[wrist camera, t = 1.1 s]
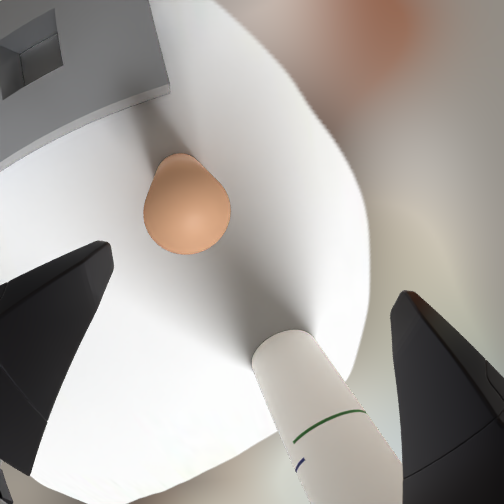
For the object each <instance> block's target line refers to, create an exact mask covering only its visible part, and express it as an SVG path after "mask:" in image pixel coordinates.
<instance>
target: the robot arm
mask: <svg viewBox="0 0 504 504" xmlns="http://www.w3.org/2000/svg"><path fill="white" fill-rule="evenodd" d="M113 269H114V263H113V257H112V250H111V245H110V244H109V243H108V242H104V241H95V242H93V243H90V244H88V245H86V246H83V247H81V248H79V249H76V250H74V251H72V252H70V253H67V254H65V255H63V256H61V257H59V258H56V259H54V260H52V261H50V262H48V263H45V264H43V265H41V266H39V267H37V268H35V269H33V270H31V271H29V272H27V273H24V274H22V275H20V276H18V277H16V278H14V279H12V280H10V281H9V282H8V283H7V282H6V283H4V284H2V285H0V466H1V463H2V461H4V462H6V463H7V464H9V465H11V466H12V467H14V468H16V469H17V470H19V471H21V472H22V473H24V474H26V475H27V476H30V474H31V471H32V467H33V464H34V461H35V457H36V454H37V451H38V448H39V445H40V442H41V439H42V436H43V433H44V430H45V427H46V425H47V421H48V419H49V416H50V413H51V411H52V408H53V406H54V403H55V400H56V398H57V395H58V393H59V391H60V388H61V386H62V383H63V381H64V379H65V376H66V374H67V372H68V369H69V367H70V365H71V363H72V360H73V358H74V356H75V354H76V352H77V350H78V347H79V345H80V343H81V341H82V339H83V337H84V335H85V333H86V331H87V329H88V327H89V325H90V323H91V321H92V319H93V317H94V315H95V313H96V311H97V309H98V306H99V304H100V301H101V299H102V296H103V294H104V291H105V289H106V287H107V284H108V282H109V279H110V277H111V275H112V272H113ZM390 319H391V331H392V351H393V362H394V369H395V377H396V385H397V394H398V403H399V413H400V425H401V440H402V465H403V479H404V480H403V494H402V504H504V378H503V377H502V376H501V375H500V374H499V373H498V372H497V370H495V368H494V367H493V366H492V365H491V364H490V363H489V362H488V361H487V360H486V361H485V358H484V357H483V356H482V355H481V354H480V353H479V352H478V351H477V350H476V349H475V348H474V347H473V346H472V345H471V344H470V343H469V342H468V341H467V340H466V339H465V338H464V337H463V336H462V335H461V334H460V333H459V332H458V331H457V330H456V329H455V328H453V327H452V326H451V325H450V324H449V323H448V322H447V321H446V320H445V319H444V318H443V317H442V316H441V315H440V314H439V313H438V312H436V311H435V310H434V309H433V308H432V307H431V306H430V305H429V304H428V303H427V302H425V301H424V300H423V299H422V298H421V297H420V296H419V295H418V294H416V293H415V292H413V291H407V290H404V291H402V292H401V293H400V295H399V297H398V298H397V300H396V302H395V304H394V306H393V308H392V310H391V314H390ZM0 504H13V500H12V498H11V495H10V492H9V489H8V487H7V484H6V481H5V478H4V475H3V471H2V470H1V469H0Z"/></svg>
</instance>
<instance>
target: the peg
mask: <svg viewBox="0 0 504 504" xmlns="http://www.w3.org/2000/svg"><path fill="white" fill-rule="evenodd" d="M230 212H231V209H230V202H229V198H228V195H227V193H226V191H225V189H224V188H223V186H222V185H221V184H220V183H219V182H218V181H217V180H216V179H215V178H214V177H213V176H212V175H211V174H210V173H209V172H208V171H207V170H206V169H205V168H204V167H203V166H202V165H201V164H200V163H199V162H198V161H197V160H196V159H195V158H194V157H192V156H190V155H188V154H183V153H177V154H172V155H170V156H168V157H166V158H165V159H164V160H163V161H162V162H161V163H160V165H159V166H158V168H157V171H156V173H155V176H154V178H153V181H152V184H151V186H150V189H149V192H148V195H147V197H146V200H145V204H144V211H143V214H144V223H145V226H146V229H147V231H148V233H149V235H150V236H151V238H152V239H153V240H154V241H155V242H156V243H157V244H158V245H159V246H161V247H162V248H163V249H165V250H167V251H170V252H173V253H177V254H184V255H185V254H195V253H199V252H202V251H204V250H206V249H208V248H210V247H211V246H213V245H214V244H215V243H216V242H217V241H218V240H219V239H220V238H221V237H222V236H223V234H224V232H225V231H226V229H227V227H228V224H229V220H230Z"/></svg>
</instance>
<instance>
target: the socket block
mask: <svg viewBox="0 0 504 504" xmlns="http://www.w3.org/2000/svg"><path fill="white" fill-rule="evenodd" d="M56 33H58V38H59V45H60V50H61V56H62V61H63V66H61V67H59V68H57V69H55V70H53V71H51V72H49V73H47V74H45V75H44V76H42V77H40V78H38V79H37V80H35V81H33V82H31V83H30V84H28V85H26V86H25V85H24V80H23V74H22V67H21V60H20V54H21V53H22V52H24V51H26V50H27V49H29V48H31V47H32V46H34V45H36V44H38V43H39V42H41V41H43V40H45V39H47V38H49V37H50V36H52V35H54V34H56ZM169 93H170V82H169V79H168V75H167V71H166V68H165V64H164V60H163V56H162V52H161V48H160V45H159V41H158V37H157V33H156V29H155V25H154V21H153V17H152V13H151V8H150V4H149V0H1V1H0V172H1V171H2V170H4V169H5V168H7V167H9V166H10V165H12V164H13V163H15V162H17V161H18V160H20V159H22V158H23V157H25V156H27V155H28V154H30V153H32V152H34V151H35V150H37V149H39V148H41V147H43V146H44V145H46V144H48V143H50V142H52V141H54V140H56V139H58V138H60V137H62V136H64V135H66V134H68V133H70V132H72V131H74V130H76V129H78V128H80V127H82V126H85V125H87V124H89V123H91V122H94V121H96V120H98V119H101V118H103V117H105V116H108V115H110V114H113V113H115V112H118V111H120V110H123V109H125V108H128V107H131V106H133V105H136V104H139V103H142V102H145V101H147V100H150V99H153V98H156V97H159V96H163V95H166V94H169Z"/></svg>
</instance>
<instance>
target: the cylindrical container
mask: <svg viewBox="0 0 504 504" xmlns="http://www.w3.org/2000/svg"><path fill="white" fill-rule="evenodd" d="M252 369H253V371H254V374H255V377H256V379H257V382H258V384H259V387H260V389H261V392H262V394H263V397H264V399H265V401H266V404H267V406H268V409H269V411H270V414H271V416H272V418H273V421H274V423H275V425H276V428H277V430H278V432H279V435H280V437H281V439H282V442H283V444H284V446H285V449H286V451H287V453H288V455H289V457H290V460H291V462H292V464H293V467H294V469H295V471H296V473H297V475H298V478H299V480H300V482H301V484H302V486H303V488H304V491H305V493H306V495H307V497H308V499H309V501H310V504H402V494H403V480H404V479H403V465H402V463H401V462H400V460H399V459H398V457H397V456H396V454H395V453H394V451H393V450H392V449H391V447H390V446H389V444H388V443H387V442H386V440H385V439H384V437H383V436H382V434H381V433H380V432H379V430H378V429H377V427H376V426H375V424H374V423H373V422H372V420H371V419H370V417H369V416H368V415H367V413H366V412H365V410H364V409H363V407H362V406H361V405H360V403H359V402H358V400H357V399H356V397H355V396H354V395H353V393H352V392H351V390H350V389H349V387H348V386H347V384H346V383H345V382H344V380H343V379H342V377H341V376H340V374H339V373H338V372H337V370H336V369H335V367H334V366H333V364H332V363H331V362H330V360H329V359H328V357H327V356H326V354H325V353H324V352H323V350H322V349H321V347H320V346H319V344H318V343H317V342H316V340H315V339H314V337H313V336H312V335H311V334H309V333H308V332H306V331H302V330H287V331H283V332H280V333H277V334H275V335H273V336H271V337H270V338H268V339H267V340H265V341H264V342H263V343H262V344H261V345H260V346H259V347H258V348H257V350H256V351H255V353H254V355H253V357H252Z"/></svg>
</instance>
